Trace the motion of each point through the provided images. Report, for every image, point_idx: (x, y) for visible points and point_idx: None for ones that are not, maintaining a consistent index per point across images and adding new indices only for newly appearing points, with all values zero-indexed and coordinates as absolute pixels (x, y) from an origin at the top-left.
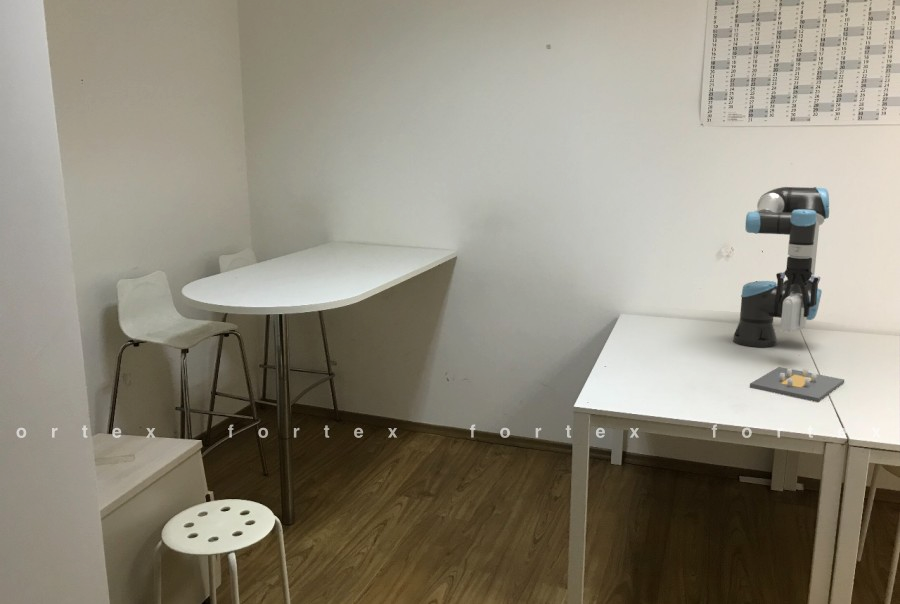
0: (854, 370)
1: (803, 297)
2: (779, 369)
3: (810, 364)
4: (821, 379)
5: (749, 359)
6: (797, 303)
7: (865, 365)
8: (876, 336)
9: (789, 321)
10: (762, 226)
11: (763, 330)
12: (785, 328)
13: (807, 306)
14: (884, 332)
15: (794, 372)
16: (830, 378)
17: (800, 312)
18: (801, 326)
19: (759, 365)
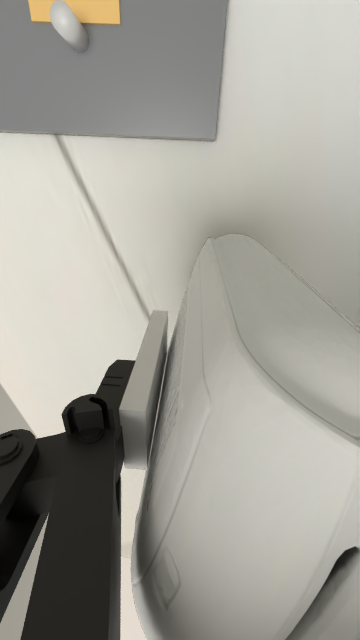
0: (40, 311)
1: (89, 585)
2: (202, 86)
3: (151, 296)
4: (12, 44)
5: (338, 226)
6: (177, 423)
7: (47, 369)
8: (127, 535)
9: (224, 252)
10: None
11: None
12: (241, 237)
13: (66, 421)
14: (127, 553)
15: (137, 84)
16: (1, 100)
17: (166, 386)
18: (156, 311)
19: (294, 162)
